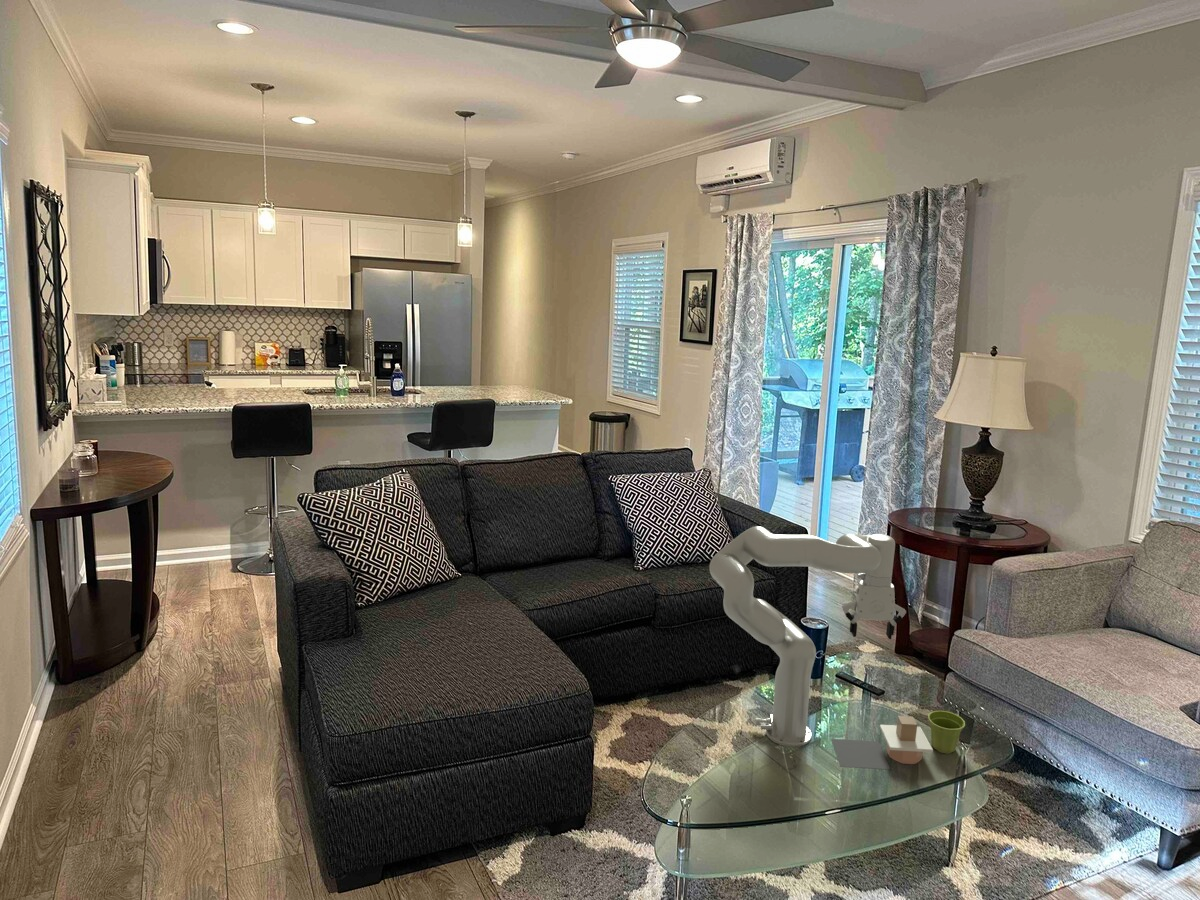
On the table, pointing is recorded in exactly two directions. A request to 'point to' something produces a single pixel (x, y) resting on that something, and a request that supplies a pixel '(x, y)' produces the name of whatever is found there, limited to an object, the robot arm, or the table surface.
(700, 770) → the table surface
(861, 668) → the table surface
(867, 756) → the mat
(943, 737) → the plant pot
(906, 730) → the lid
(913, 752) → the bowl
